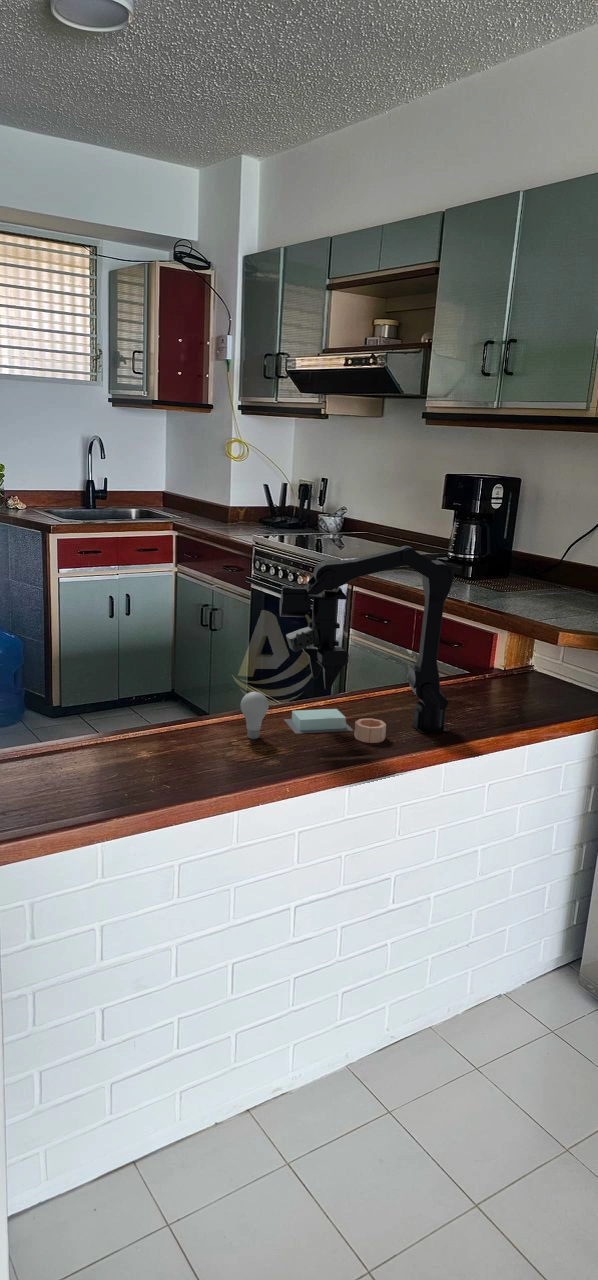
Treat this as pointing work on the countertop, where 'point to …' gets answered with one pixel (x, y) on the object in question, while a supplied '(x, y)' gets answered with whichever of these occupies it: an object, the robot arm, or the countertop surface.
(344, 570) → the robot arm
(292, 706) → the countertop surface
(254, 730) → the lightbulb
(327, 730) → the mat
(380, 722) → the nut
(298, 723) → the pale teal block
